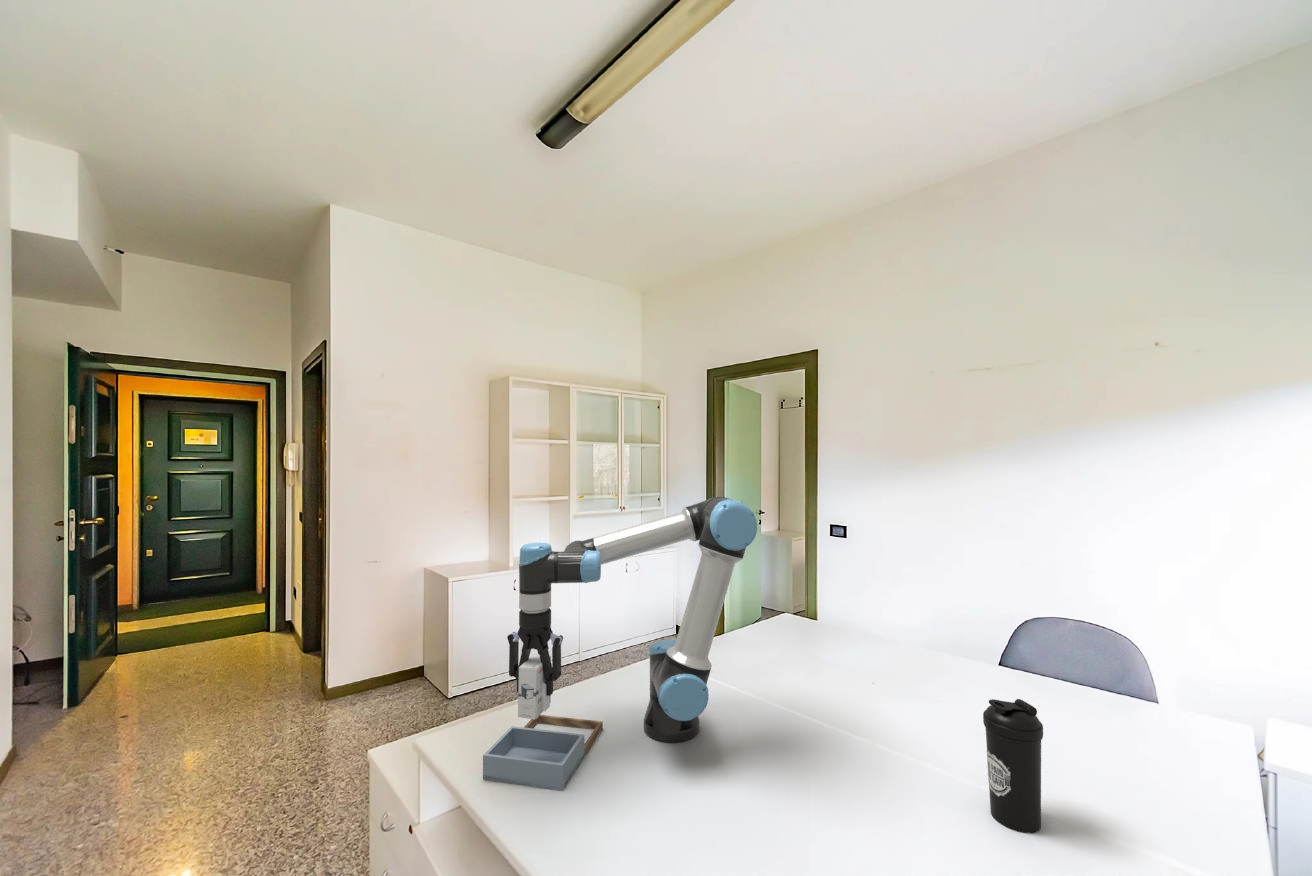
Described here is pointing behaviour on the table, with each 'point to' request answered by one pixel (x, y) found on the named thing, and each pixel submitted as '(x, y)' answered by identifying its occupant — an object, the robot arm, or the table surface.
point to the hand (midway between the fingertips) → (534, 707)
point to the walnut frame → (570, 723)
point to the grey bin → (534, 758)
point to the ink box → (530, 688)
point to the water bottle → (1014, 764)
